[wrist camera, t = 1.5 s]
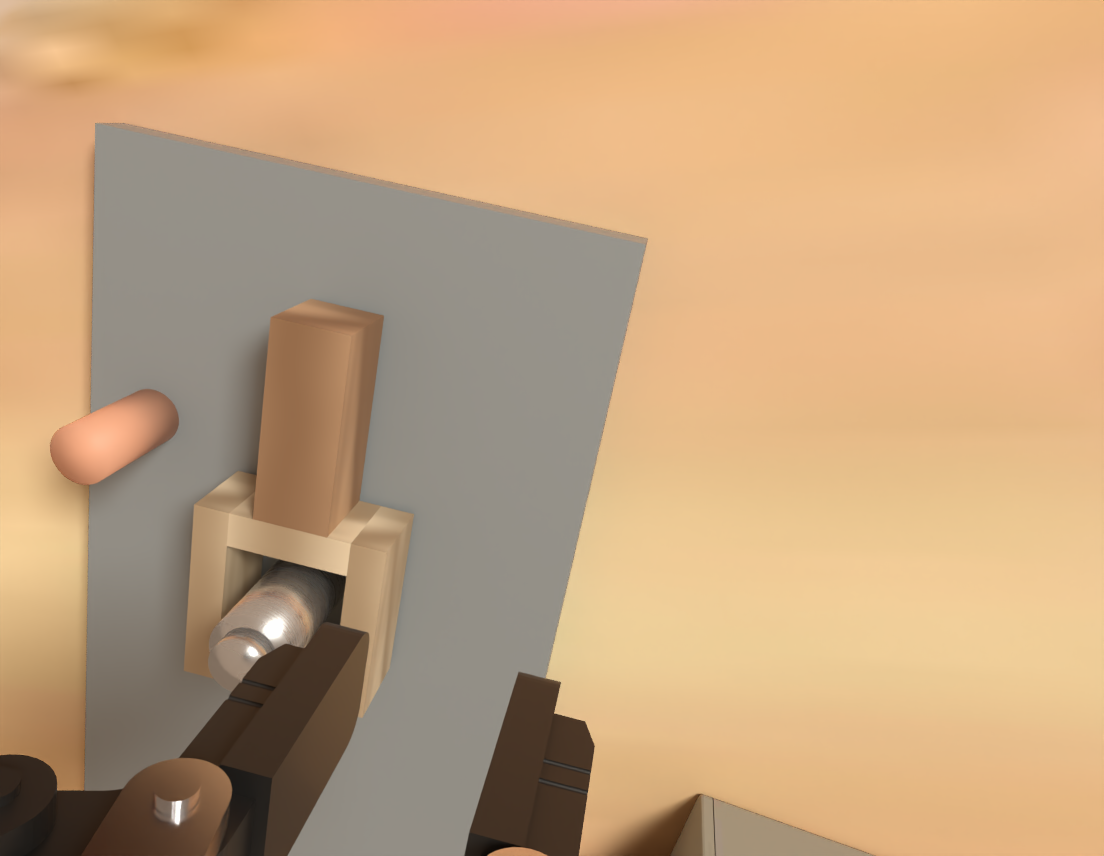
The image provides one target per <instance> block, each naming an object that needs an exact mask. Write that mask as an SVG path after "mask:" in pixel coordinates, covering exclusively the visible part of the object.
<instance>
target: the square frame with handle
mask: <svg viewBox="0 0 1104 856" xmlns="http://www.w3.org/2000/svg"><path fill="white" fill-rule="evenodd" d="M383 321H384V315H379V314H375V313H371V312H366V311H362V310H358V309H353V308H349V307H345V306H340V305H336V304H332V303H327V302H323V301H319V300H314V299H309V300H307V301H305V302H303V303H301V304H298V305H296V306H294V307H292V308H290V309H287V310H285V311H283V312H281V313H279V314H276V315H274V316H272V317H271V319H270V330H269V341H268V353H267V364H266V375H265V387H264V398H263V409H262V421H261V432H260V443H259V455H258V466H257V475H253V474H249V473H245V472H241V471H237V472H236V473H235V474H233V475H232V476H231V477H229V478H228V479H227V480H226V481H224V482H223V483H222V484H220V485H219V486H218V487H216V488H215V489H214V490H213V491H211V492H210V493H209V494H207V495H206V496H205V497H203V498H202V499H201V500H199V501H198V502H197V503H196V504H194V514H193V531H192V547H191V563H190V579H189V595H188V611H187V627H186V643H185V659H184V671H187V672H190V673H194V674H198V675H202V676H205V677H209V678H213V677H212V675H211V673H210V670H209V667H208V657H209V654H210V651H209V639H210V635H211V633H212V631H213V629H214V628H215V626H216V625H217V624H218V623H219V622H220V621H221V620H222V619H223V618H224V617H225V616H226V615H227V614H228V613H229V611H230V610H231V609H232V608H233V607H234V606H235V605H236V604H237V603H238V602H239V601H240V600H241V599H242V598H243V597H244V596H245V595H246V593H247V592H248V591H249V590H250V589H251V588H252V587H253V586H254V585H255V584H256V583H257V582H258V581H259V580H260V579H261V572H262V562H263V555H264V556H268V557H272V558H276V559H280V560H284V561H288V562H292V563H296V564H300V565H304V566H308V567H312V568H316V569H320V570H324V571H328V572H332V573H336V574H340V575H344V576H347V577H346V584H345V592H344V599H343V607H342V614H341V622H340V625H341V626H345V627H349V628H353V629H357V630H360V631H364V632H368V633H369V649H368V655H367V662H366V669H365V676H364V683H363V689H362V696H361V703H360V709H359V714H358V717H361V718H363V716H364V714H365V712H366V710H367V708H368V707H369V705H370V703H371V701H372V699H373V697H374V696H375V694H376V692H377V690H378V688H379V687H380V685H381V683H382V681H383V679H384V677H385V676H386V674H387V672H388V670H389V668H390V663H391V657H392V650H393V644H394V638H395V631H396V625H397V619H398V613H399V606H400V600H401V594H402V587H403V581H404V575H405V568H406V562H407V556H408V549H409V543H410V537H411V531H412V524H413V518H414V514H411V513H407V512H403V511H399V510H395V509H391V508H387V507H383V506H379V505H375V504H371V503H367V502H363V501H359V500H360V493H361V485H362V478H363V470H364V463H365V455H366V448H367V441H368V433H369V426H370V418H371V411H372V403H373V396H374V388H375V381H376V373H377V366H378V358H379V351H380V343H381V336H382V328H383ZM320 627H321V626H320ZM312 638H313V637H312ZM309 642H310V641H309ZM213 679H214V678H213Z"/></svg>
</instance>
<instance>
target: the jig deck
mask: <svg viewBox="0 0 1104 856" xmlns="http://www.w3.org/2000/svg"><path fill="white" fill-rule="evenodd" d="M647 240H648V239H647V238H642V237H638V236H633V235H629V234H624V233H619V232H615V231H610V230H606V229H601V228H597V227H592V226H588V225H583V224H579V223H574V222H569V221H565V220H560V219H556V218H551V217H547V216H542V215H538V214H533V213H529V212H524V211H520V210H515V209H510V208H506V207H501V206H497V205H492V204H488V203H483V202H479V201H474V200H470V199H465V198H460V197H456V196H451V195H447V194H442V193H438V192H433V191H429V190H424V189H420V188H415V187H411V186H406V185H401V184H397V183H392V182H388V181H383V180H379V179H374V178H370V177H365V176H361V175H356V174H351V173H347V172H342V171H338V170H333V169H329V168H324V167H320V166H315V165H311V164H306V163H302V162H297V161H292V160H288V159H283V158H279V157H274V156H270V155H265V154H261V153H256V152H252V151H247V150H242V149H238V148H233V147H229V146H224V145H220V144H215V143H211V142H206V141H202V140H197V139H193V138H188V137H183V136H179V135H174V134H170V133H165V132H161V131H156V130H152V129H147V128H143V127H138V126H133V125H129V124H124V123H95V179H94V239H93V300H92V360H91V413H93V412H95V411H97V410H99V409H101V408H103V407H105V406H107V405H110V404H112V403H114V402H116V401H118V400H120V399H122V398H124V397H126V396H128V395H130V394H133V393H135V392H137V391H139V390H142V389H152V390H156V391H159V392H161V393H162V394H164V395H165V396H167V397H168V398H169V399H170V400H171V401H172V403H173V404H174V406H175V407H176V410H177V412H178V416H179V426H178V430H177V432H176V433H175V435H174V436H173V437H172V438H171V439H169V440H168V441H166V442H164V443H163V444H161V445H159V446H158V447H156V448H154V449H153V450H151V451H149V452H148V453H146V454H144V455H143V456H141V457H139V458H138V459H136V460H134V461H133V462H131V463H129V464H128V465H126V466H124V467H123V468H121V469H119V470H118V471H116V472H114V473H113V474H111V475H110V476H108V477H106V478H105V479H103V480H101V481H100V482H98V483H95V484H91V485H89V542H88V602H87V663H86V723H85V784H84V791H105V790H117V789H123V788H124V787H125V785H126V784H127V783H128V781H129V780H130V779H131V778H132V777H134V776H135V775H136V774H137V773H139V772H140V771H141V770H143V769H145V768H147V767H149V766H151V765H153V764H156V763H158V762H161V761H165V760H169V759H176V758H179V757H180V756H181V754H182V753H183V752H184V751H185V749H186V748H187V747H188V746H189V744H190V743H191V742H192V741H193V739H194V738H195V737H196V736H197V734H198V733H199V732H200V731H201V730H202V728H203V727H204V726H205V725H206V723H207V722H208V721H209V720H210V718H211V717H212V716H213V715H214V713H215V712H216V711H217V710H218V708H219V707H220V706H221V705H222V703H223V702H224V701H225V700H228V698H229V695H230V694H231V692H232V691H229V690H227V689H225V688H223V687H222V686H221V685H219V684H218V683H217V682H216V681H215V679H213V678H209V677H205V676H202V675H198V674H194V673H190V672H187V671H184V659H185V643H186V627H187V611H188V595H189V579H190V563H191V547H192V531H193V514H194V504H196V503H197V502H198V501H199V500H201V499H202V498H203V497H205V496H206V495H207V494H209V493H210V492H211V491H213V490H214V489H215V488H216V487H218V486H219V485H220V484H222V483H223V482H224V481H226V480H227V479H228V478H229V477H231V476H232V475H233V474H235V473H236V472H237V471H241V472H245V473H249V474H253V475H257V466H258V455H259V443H260V432H261V421H262V409H263V398H264V387H265V375H266V364H267V353H268V341H269V330H270V319H271V317H272V316H274V315H276V314H279V313H281V312H283V311H285V310H287V309H290V308H292V307H294V306H296V305H298V304H301V303H303V302H305V301H307V300H309V299H314V300H319V301H323V302H327V303H332V304H336V305H340V306H345V307H349V308H353V309H358V310H362V311H366V312H371V313H375V314H379V315H384V321H383V328H382V336H381V343H380V351H379V358H378V366H377V373H376V381H375V388H374V396H373V403H372V411H371V418H370V426H369V433H368V441H367V448H366V455H365V463H364V470H363V478H362V485H361V493H360V500H359V501H363V502H367V503H371V504H375V505H379V506H383V507H387V508H391V509H395V510H399V511H403V512H407V513H411V514H414V518H413V524H412V531H411V537H410V543H409V549H408V556H407V562H406V568H405V575H404V581H403V587H402V594H401V600H400V606H399V613H398V619H397V625H396V631H395V638H394V644H393V650H392V657H391V663H390V668H389V670H388V672H387V674H386V676H385V677H384V679H383V681H382V683H381V685H380V687H379V688H378V690H377V692H376V694H375V696H374V697H373V699H372V701H371V703H370V705H369V707H368V708H367V710H366V712H365V714H364V716H363V718H361V717H358V718H357V722H356V725H355V728H354V731H353V734H352V737H351V739H350V742H349V744H348V746H347V748H346V750H345V752H344V754H343V755H342V757H341V759H340V761H339V763H338V765H337V766H336V768H335V770H334V772H333V774H332V775H331V777H330V779H329V781H328V783H327V785H326V786H325V788H324V790H323V792H322V794H321V796H320V797H319V799H318V801H317V803H316V805H315V807H314V808H313V810H312V812H311V814H310V816H309V818H308V819H307V821H306V823H305V825H304V827H303V828H302V830H301V832H300V834H299V836H298V838H297V839H296V841H295V843H294V845H293V847H292V849H291V850H290V852H289V854H288V856H464V854H465V850H466V845H467V840H468V835H469V831H470V828H471V825H472V821H473V818H474V815H475V812H476V808H477V805H478V802H479V799H480V795H481V792H482V789H483V786H484V782H485V779H486V776H487V773H488V769H489V766H490V763H491V760H492V756H493V753H494V750H495V747H496V743H497V740H498V737H499V733H500V730H501V727H502V724H503V720H504V717H505V714H506V711H507V707H508V704H509V701H510V698H511V694H512V691H513V688H514V685H515V681H516V678H517V675H518V672H523V673H527V674H530V675H534V676H538V677H542V678H546V674H547V670H548V666H549V661H550V657H551V653H552V648H553V644H554V640H555V636H556V631H557V627H558V623H559V618H560V614H561V610H562V605H563V601H564V597H565V593H566V588H567V584H568V580H569V575H570V571H571V567H572V562H573V558H574V554H575V550H576V545H577V541H578V537H579V532H580V528H581V524H582V519H583V515H584V511H585V507H586V502H587V498H588V494H589V489H590V485H591V481H592V476H593V472H594V468H595V464H596V459H597V455H598V451H599V446H600V442H601V438H602V433H603V429H604V425H605V421H606V416H607V412H608V408H609V403H610V399H611V395H612V390H613V386H614V382H615V378H616V373H617V369H618V365H619V360H620V356H621V352H622V347H623V343H624V339H625V335H626V330H627V326H628V322H629V317H630V313H631V309H632V305H633V300H634V296H635V292H636V287H637V283H638V279H639V274H640V270H641V266H642V262H643V257H644V253H645V249H646V244H647ZM278 560H279V559H276V558H272V557H268V556H264V555H263V562H262V572H261V578H262V577H263V575H264V574H265V573H266V572H267V571H268V570H269V569H270V568H271V567H272V566H273V565H274V564H275V563H276V562H277V561H278ZM343 599H344V595H343V596H342V598H341V599H340V600H339V602H338V603H337V605H336V606H335V607H334V609H333V610H332V611H331V613H330V614H329V616H328V617H327V618H326V620H325V621H324V622H329V623H333V624H337V625H340V622H341V614H342V607H343ZM324 622H323V623H324Z"/></svg>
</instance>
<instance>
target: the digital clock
mask: <svg viewBox="0 0 1104 856" xmlns="http://www.w3.org/2000/svg"><path fill="white" fill-rule="evenodd" d="M670 856H874V855H871V854H869V853H866V852H863V851H860V850H857V849H854V848H852V847H849V846H846V845H843V844H840V843H838V842H835V841H832V840H829V839H826V838H824V837H821V836H818V835H815V834H812V833H810V832H807V831H804V830H801V829H798V828H795V827H793V826H790V825H787V824H784V823H781V822H779V821H776V820H773V819H770V818H767V817H765V816H762V815H759V814H756V813H753V812H751V811H748V810H745V809H742V808H739V807H736V806H734V805H731V804H728V803H725V802H722V801H720V800H717V799H714V798H711V797H708V796H706V795H703V794H700V796H699V797H698V798H697V800H696V802H695V804H694V806H693V809H692V811H691V813H690V815H689V817H688V819H687V821H686V823H685V825H684V828H683V830H682V832H681V834H680V836H679V838H678V840H677V842H676V844H675V847H674V849H673V851H672V853H671V855H670Z"/></svg>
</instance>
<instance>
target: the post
mask: <svg viewBox="0 0 1104 856" xmlns="http://www.w3.org/2000/svg"><path fill="white" fill-rule="evenodd" d="M346 577H347V576H344V575H340V574H336V573H332V572H328V571H324V570H320V569H316V568H312V567H308V566H304V565H300V564H296V563H292V562H288V561H284V560H280V559H279V560H278V561H277V562H276V563H275V564H274V565H273V566H272V567H271V568H270V569H269V570H268V571H267V572H266V573H265V574H264V575H263V577H262V578H261V579H260V580H259V581H258V582H257V583H256V584H255V585H254V586H253V587H252V588H251V589H250V590H249V591H248V592H247V593H246V595H245V596H244V597H243V598H242V599H241V600H240V601H239V602H238V603H237V604H236V605H235V606H234V607H233V608H232V609H231V610H230V611H229V613H228V614H227V615H226V616H225V617H224V618H223V619H222V620H221V621H220V622H219V623H218V624H217V625H216V626H215V628H214V629H213V631H212V633H211V635H210V639H209V651H210V654H209V657H208V667H209V670H210V673H211V675H212V677H213V678H214V679H215V681H216V682H217V683H218V684H219V685H221V686H222V687H223V688H225V689H227V690H229V691H233V690H234V689H235V687H236V686H237V685H238V684H239V682H240V683H241V682H242V679H243V677H244V676H245V675H246V674H247V672H248V671H249V670H250V669H251V667H252V666H253V665H254V664H255V662H256V661H257V660H258V659H259V658H260V657H262V656H264V655H265V654H267V653H269V652H271V651H273V650H274V649H276V648H278V647H280V646H282V645H283V644H285V643H286V644H290V645H293V646H297V647H301V648H305V647H306V646H307V644H308V643H309V641H310V640H311V639H312V637H313V636H314V635H315V633H316V632H317V631H318V629H319V628H320V626H321V625H322V624H323V622H324V621H325V620H326V618H327V617H328V616H329V614H330V613H331V611H332V610H333V609H334V607H335V606H336V605H337V603H338V602H339V600H340V599H341V598H342V596H343V595H344V592H345V584H346Z"/></svg>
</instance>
